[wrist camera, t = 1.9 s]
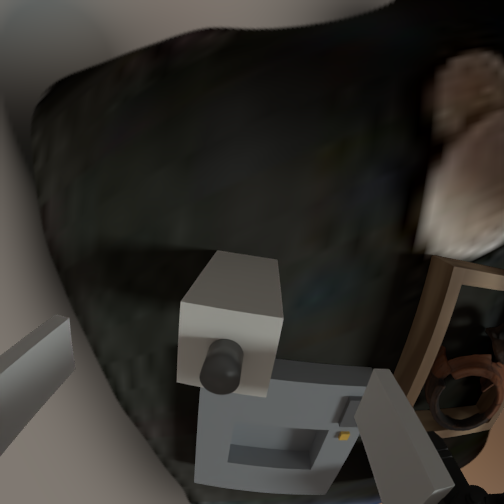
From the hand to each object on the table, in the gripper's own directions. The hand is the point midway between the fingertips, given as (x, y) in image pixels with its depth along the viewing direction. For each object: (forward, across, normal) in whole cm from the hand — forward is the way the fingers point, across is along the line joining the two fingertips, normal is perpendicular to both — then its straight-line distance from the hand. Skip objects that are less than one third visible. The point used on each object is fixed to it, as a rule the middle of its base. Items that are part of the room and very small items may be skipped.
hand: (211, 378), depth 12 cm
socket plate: (+12, +6, -14) cm, 19 cm away
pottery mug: (+12, +23, -4) cm, 26 cm away
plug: (+12, 0, 0) cm, 12 cm away
